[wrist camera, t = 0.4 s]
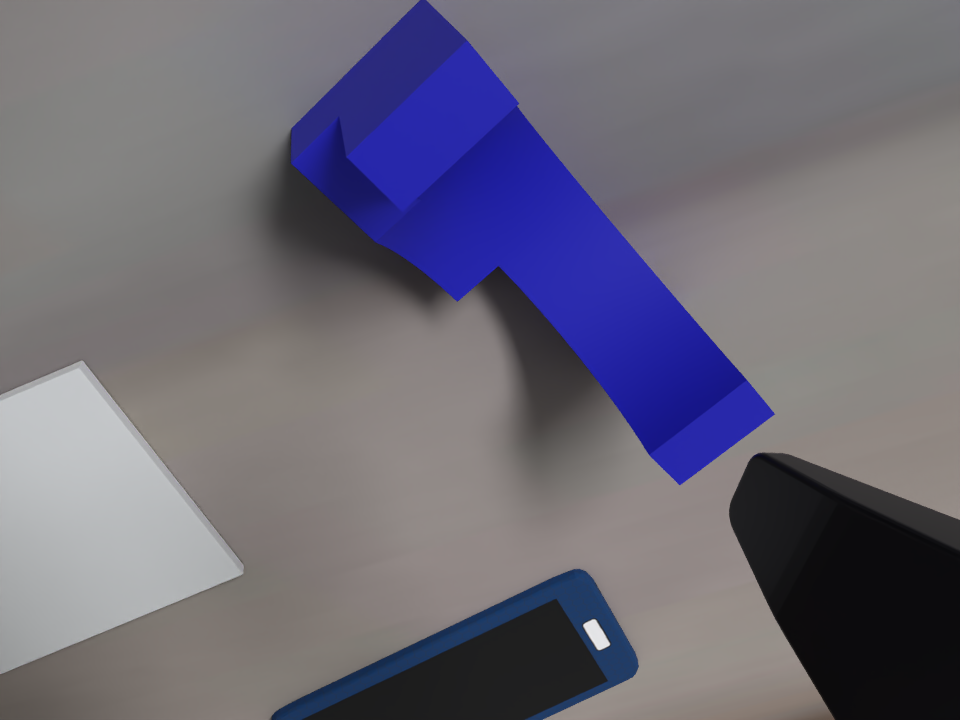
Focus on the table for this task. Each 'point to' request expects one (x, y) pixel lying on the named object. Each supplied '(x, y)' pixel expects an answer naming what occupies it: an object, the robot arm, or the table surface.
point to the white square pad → (89, 520)
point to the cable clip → (516, 230)
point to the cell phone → (491, 663)
